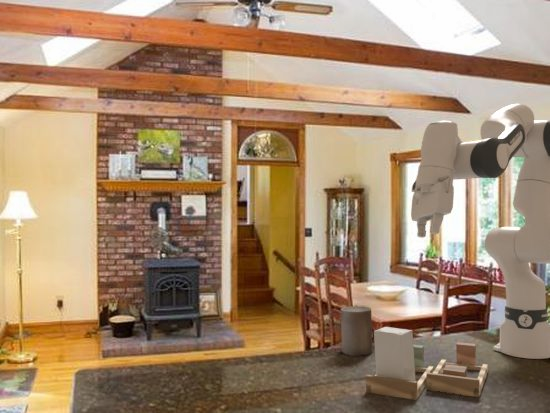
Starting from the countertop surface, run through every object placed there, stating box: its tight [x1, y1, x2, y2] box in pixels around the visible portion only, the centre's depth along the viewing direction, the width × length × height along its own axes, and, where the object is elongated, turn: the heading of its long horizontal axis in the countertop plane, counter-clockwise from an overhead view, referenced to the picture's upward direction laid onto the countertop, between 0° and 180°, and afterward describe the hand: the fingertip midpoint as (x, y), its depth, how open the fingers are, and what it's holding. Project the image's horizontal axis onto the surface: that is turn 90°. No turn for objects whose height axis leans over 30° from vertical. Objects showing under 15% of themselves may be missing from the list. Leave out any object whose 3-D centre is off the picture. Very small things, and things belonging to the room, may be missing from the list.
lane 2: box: [426, 341, 489, 398], centre depth 141 cm, size 27×12×6 cm, turn 153°
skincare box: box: [373, 326, 416, 381], centre depth 133 cm, size 8×6×15 cm
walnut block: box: [442, 364, 468, 377], centre depth 134 cm, size 5×5×5 cm
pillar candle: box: [340, 304, 373, 357], centre depth 168 cm, size 10×10×15 cm
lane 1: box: [365, 344, 435, 401], centre depth 140 cm, size 27×12×6 cm, turn 153°
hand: (427, 235), depth 133 cm, fingers open, 8 cm apart
